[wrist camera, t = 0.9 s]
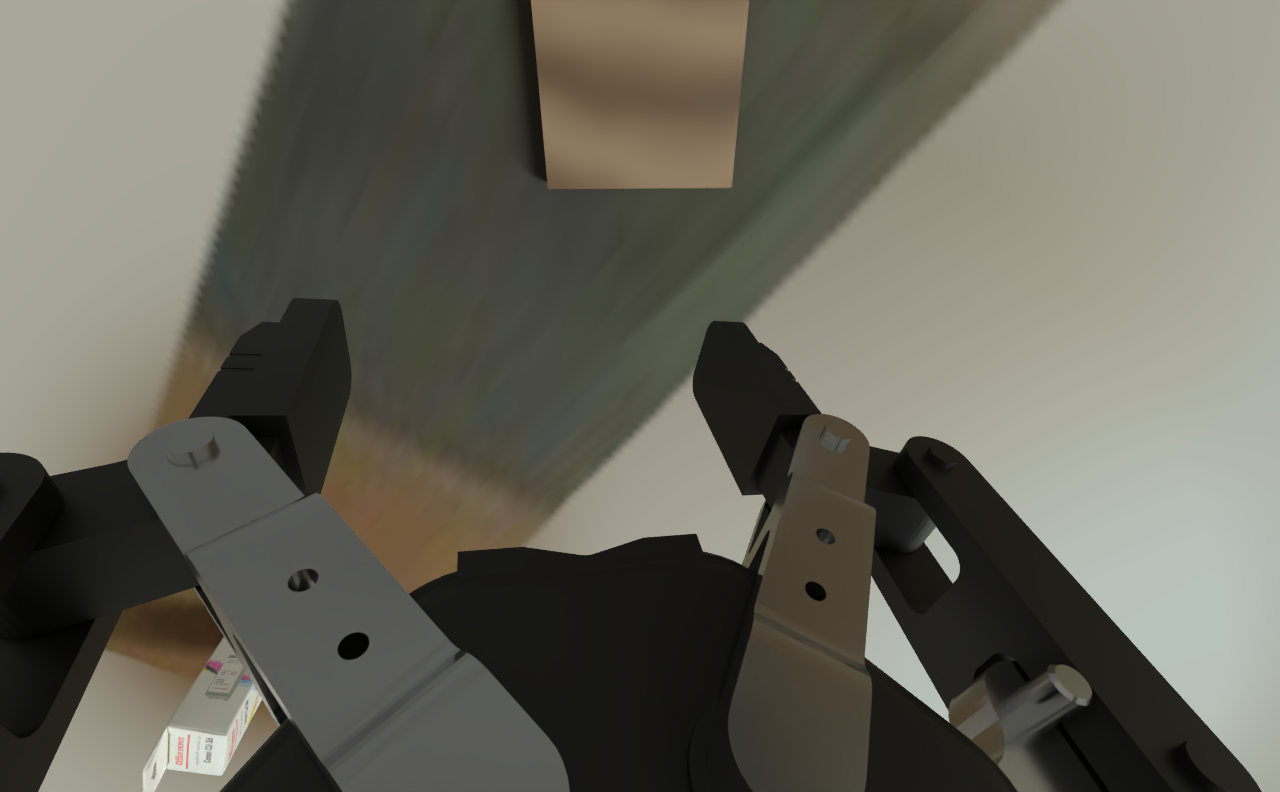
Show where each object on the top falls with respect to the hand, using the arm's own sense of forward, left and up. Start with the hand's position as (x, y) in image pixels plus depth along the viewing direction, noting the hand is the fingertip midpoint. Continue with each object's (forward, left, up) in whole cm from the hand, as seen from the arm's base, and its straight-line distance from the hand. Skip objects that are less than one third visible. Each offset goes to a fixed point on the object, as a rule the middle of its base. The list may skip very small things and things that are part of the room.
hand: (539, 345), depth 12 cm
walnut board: (-4, +3, -24) cm, 25 cm away
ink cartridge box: (+47, -37, -24) cm, 65 cm away
